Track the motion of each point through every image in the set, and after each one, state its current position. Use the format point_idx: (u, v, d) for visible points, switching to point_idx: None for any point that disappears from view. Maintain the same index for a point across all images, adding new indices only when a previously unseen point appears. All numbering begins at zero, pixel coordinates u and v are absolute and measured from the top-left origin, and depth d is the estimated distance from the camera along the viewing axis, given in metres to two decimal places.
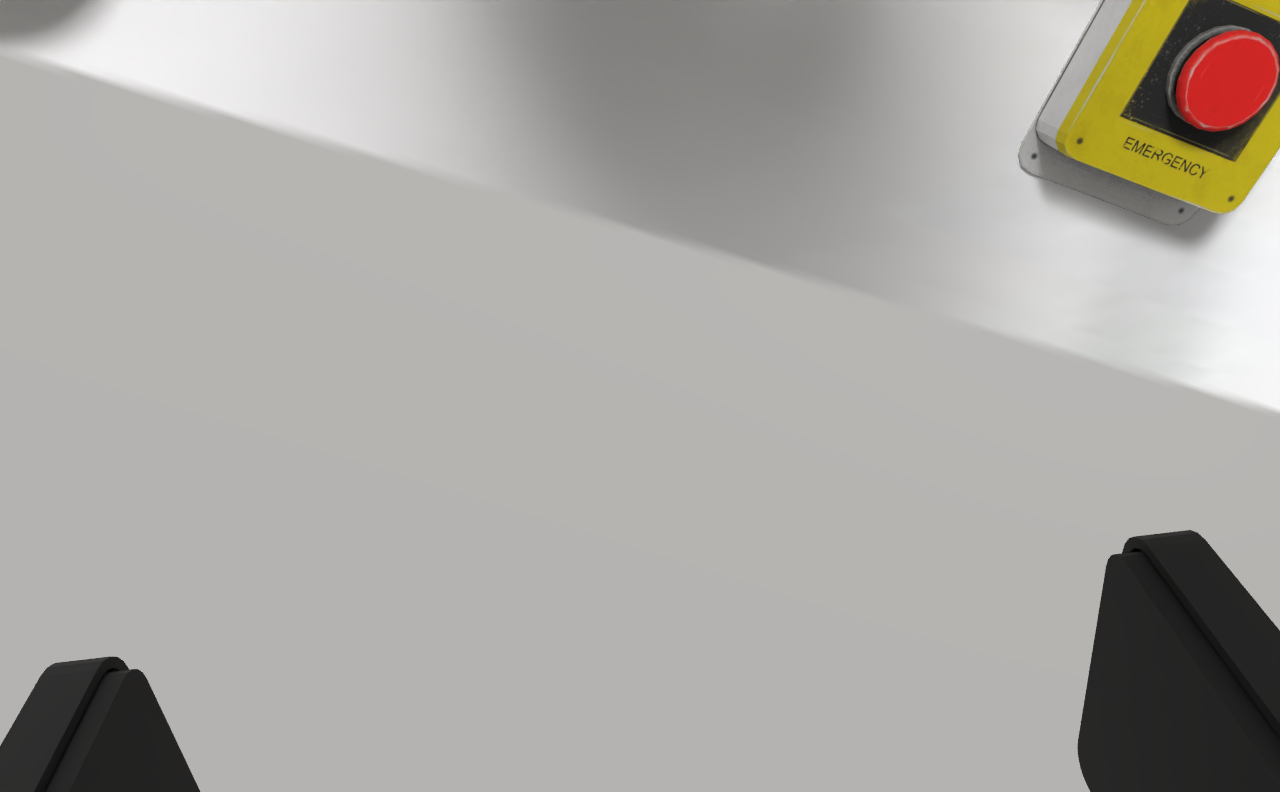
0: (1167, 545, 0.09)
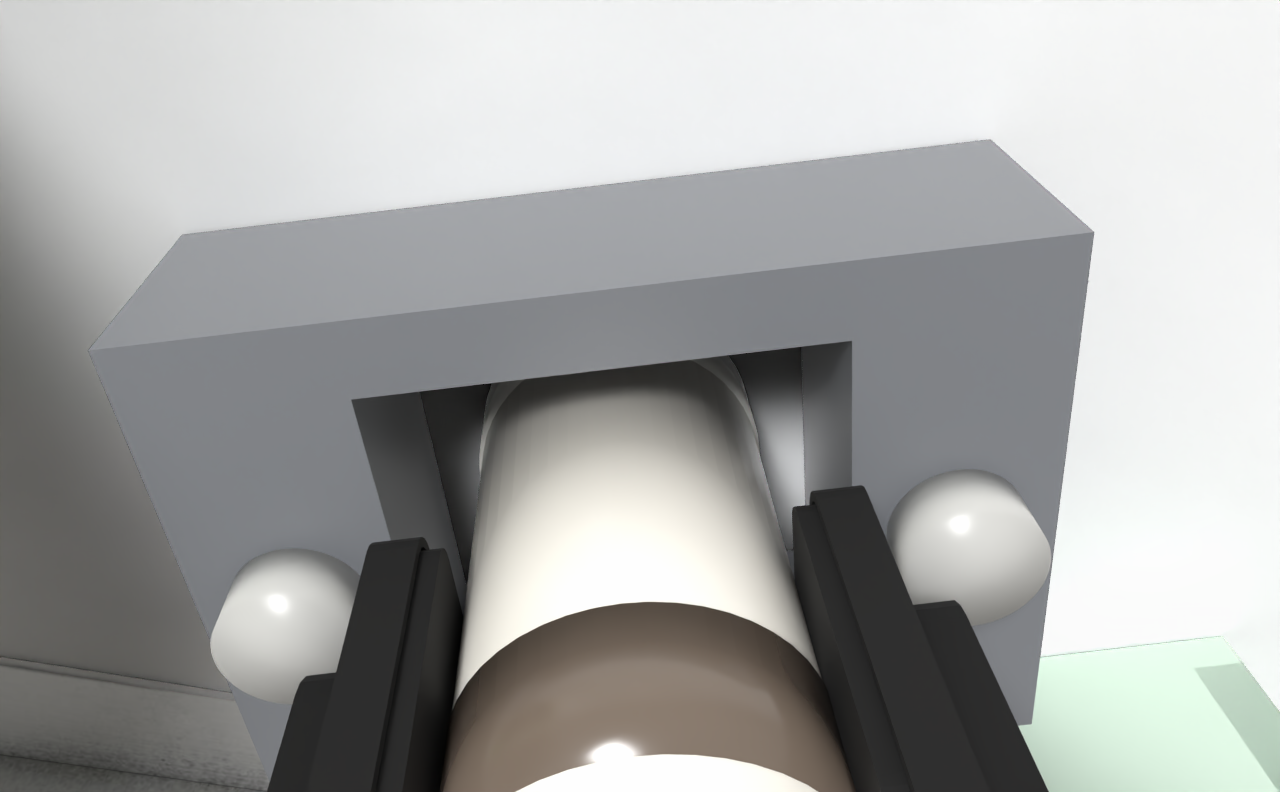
0: (832, 497, 0.10)
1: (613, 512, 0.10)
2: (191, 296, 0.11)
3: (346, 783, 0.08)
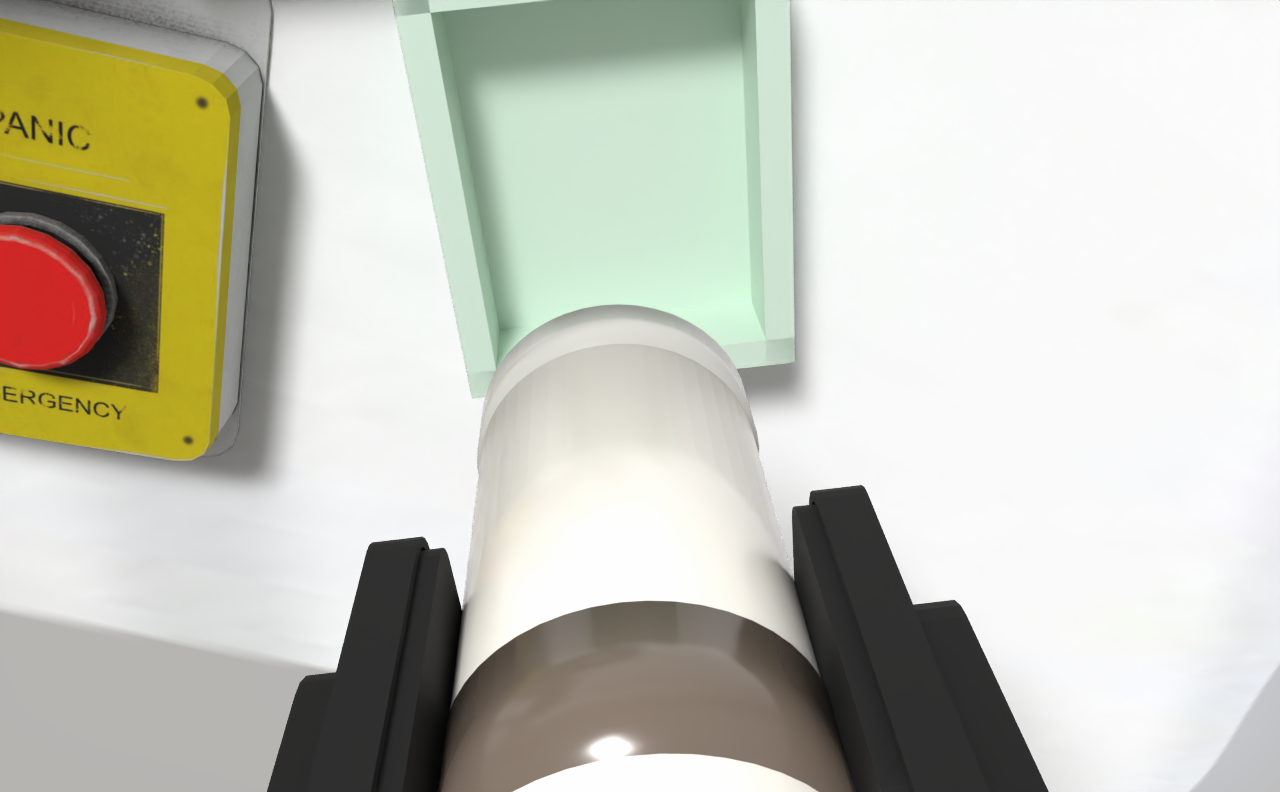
0: (832, 497, 0.10)
1: (612, 512, 0.10)
2: None
3: (346, 783, 0.08)
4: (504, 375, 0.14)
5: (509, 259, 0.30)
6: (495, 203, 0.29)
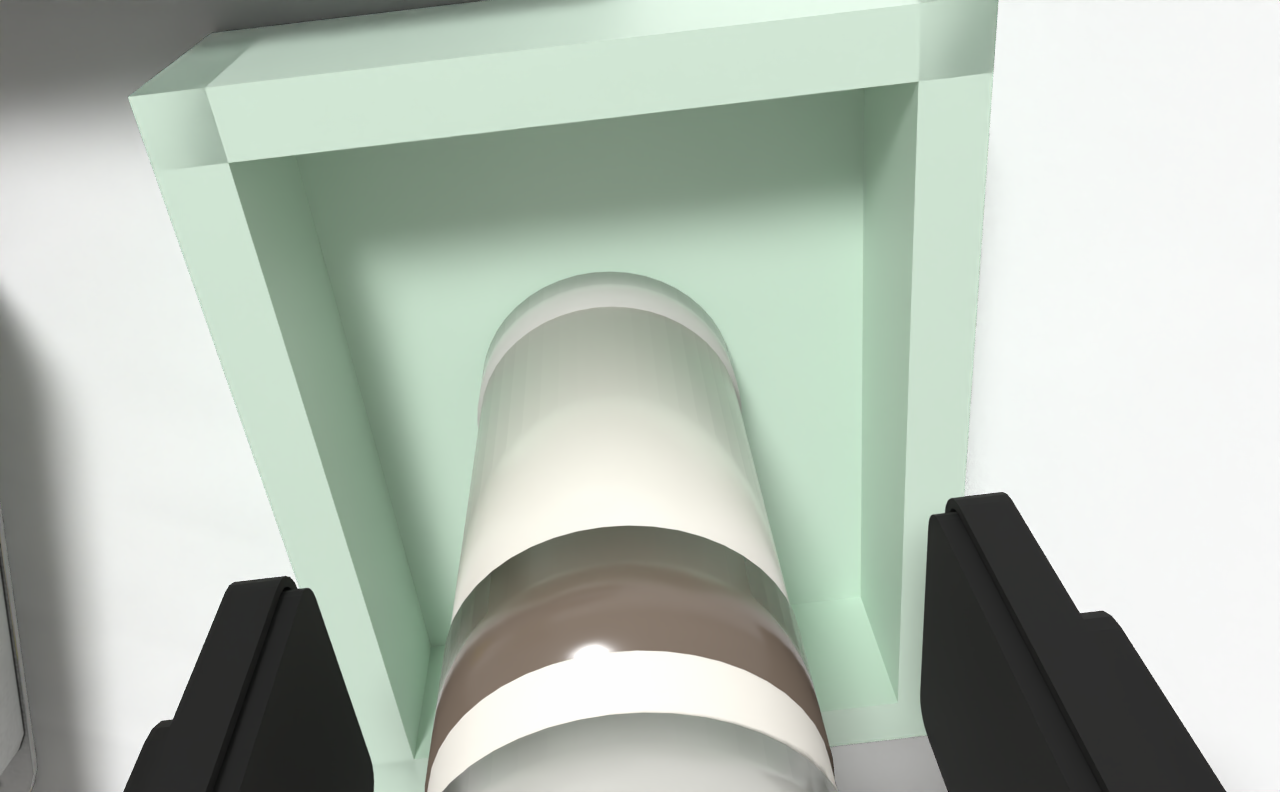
0: (976, 505, 0.10)
1: (599, 451, 0.11)
2: None
3: None
4: (502, 337, 0.15)
5: (441, 544, 0.17)
6: (411, 459, 0.16)
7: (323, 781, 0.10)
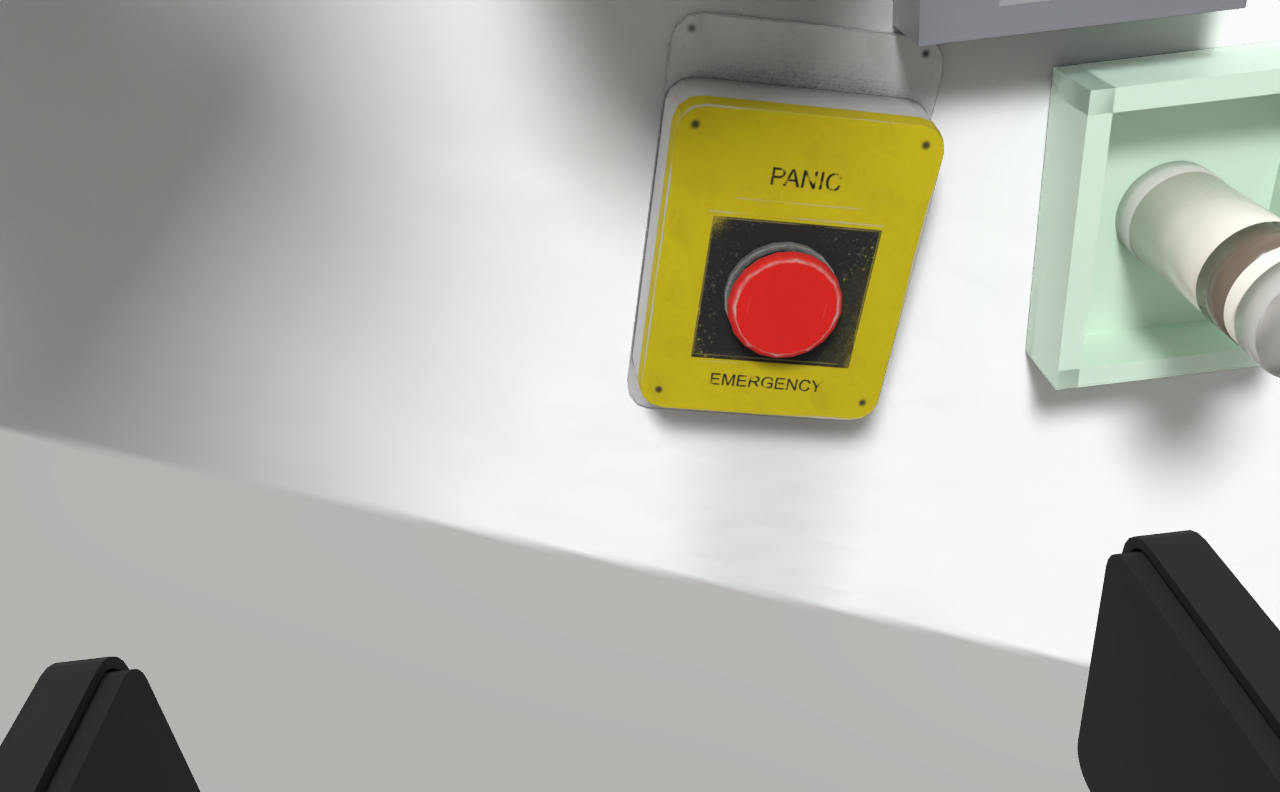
0: (1167, 545, 0.09)
1: (1242, 207, 0.34)
2: None
3: None
4: (1142, 186, 0.37)
5: None
6: None
7: None
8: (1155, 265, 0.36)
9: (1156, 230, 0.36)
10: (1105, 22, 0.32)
